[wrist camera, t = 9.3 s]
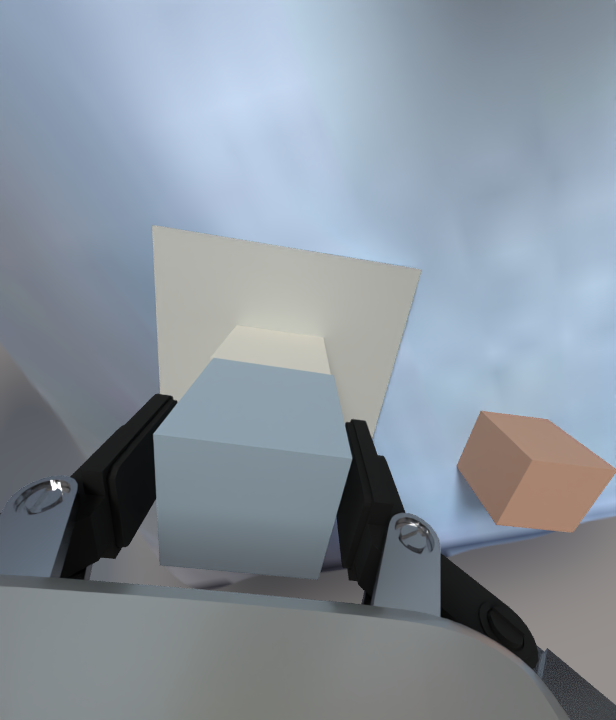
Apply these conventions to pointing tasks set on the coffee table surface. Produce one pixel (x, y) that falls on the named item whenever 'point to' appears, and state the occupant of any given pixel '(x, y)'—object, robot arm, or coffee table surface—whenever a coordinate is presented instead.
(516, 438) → the orange cube
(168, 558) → the blue brick
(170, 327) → the plate
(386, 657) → the robot arm
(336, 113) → the coffee table surface
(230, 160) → the coffee table surface
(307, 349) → the base brick
